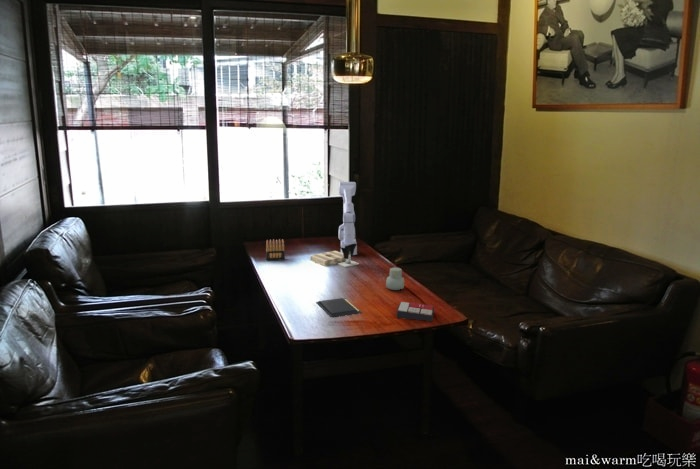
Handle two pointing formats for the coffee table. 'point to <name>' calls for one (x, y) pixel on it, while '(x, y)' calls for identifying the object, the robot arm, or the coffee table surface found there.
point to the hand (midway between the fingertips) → (348, 257)
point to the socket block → (328, 258)
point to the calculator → (415, 311)
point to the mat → (348, 264)
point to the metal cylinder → (348, 258)
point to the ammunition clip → (275, 250)
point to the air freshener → (395, 279)
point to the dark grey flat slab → (338, 307)
